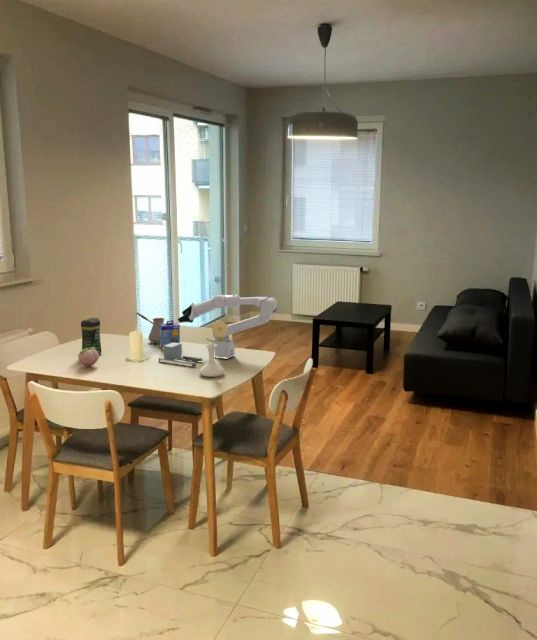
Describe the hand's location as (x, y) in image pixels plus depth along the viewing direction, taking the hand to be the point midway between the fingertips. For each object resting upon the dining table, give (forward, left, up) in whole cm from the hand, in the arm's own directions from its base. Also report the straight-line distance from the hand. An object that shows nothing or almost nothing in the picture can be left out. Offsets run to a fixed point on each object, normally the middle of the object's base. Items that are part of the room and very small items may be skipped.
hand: (180, 317), depth 306 cm
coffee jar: (+38, +23, -19) cm, 48 cm away
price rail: (-9, +13, -19) cm, 25 cm away
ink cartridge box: (+13, -8, -19) cm, 24 cm away
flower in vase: (-33, +24, -19) cm, 45 cm away
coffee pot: (+29, -14, -19) cm, 37 cm away
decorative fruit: (+25, +40, -19) cm, 51 cm away
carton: (-1, +10, -19) cm, 21 cm away
